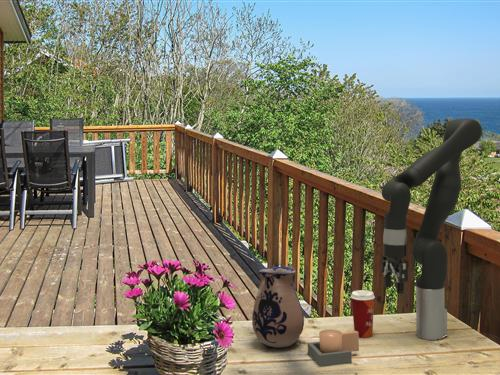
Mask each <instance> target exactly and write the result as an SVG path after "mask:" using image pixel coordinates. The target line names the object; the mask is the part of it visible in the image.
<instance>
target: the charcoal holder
mask: <svg viewBox="0 0 500 375" xmlns="http://www.w3.org/2000/svg"><path fill="white" fill-rule="evenodd" d="M307 354H308V355H309V357H311V359H312V360H313V361H314V362H315V363H316V364H317V365H318V366H319V367H320V368H322V367H329V366H337V365H344V364H352V362H353V361H352V360H353V359H352V356H353V355H352V352H351V351H350V350H348V351H340V352H332V353H324V354H322V353H321V352H320V342H319V341H314V342H307Z"/></svg>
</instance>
